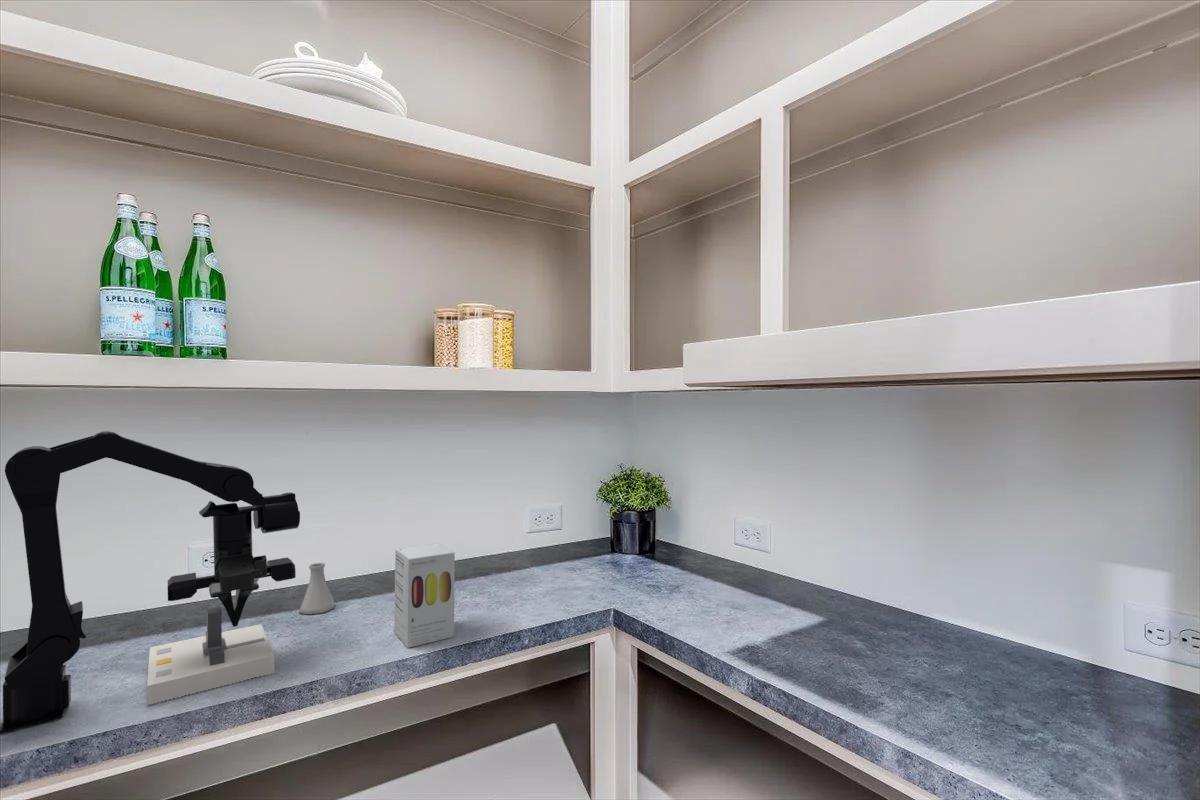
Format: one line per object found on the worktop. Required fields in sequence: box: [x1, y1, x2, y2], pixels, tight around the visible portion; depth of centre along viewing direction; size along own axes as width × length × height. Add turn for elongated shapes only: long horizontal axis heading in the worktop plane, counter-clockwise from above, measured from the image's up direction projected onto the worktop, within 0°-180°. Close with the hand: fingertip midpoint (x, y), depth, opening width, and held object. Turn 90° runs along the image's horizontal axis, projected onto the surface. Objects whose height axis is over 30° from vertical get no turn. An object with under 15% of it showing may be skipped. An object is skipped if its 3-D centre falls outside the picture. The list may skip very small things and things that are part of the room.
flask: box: [298, 562, 336, 615], centre depth 126 cm, size 7×7×10 cm
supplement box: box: [393, 542, 456, 649], centre depth 113 cm, size 10×9×17 cm
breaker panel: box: [146, 623, 275, 706], centre depth 98 cm, size 17×17×4 cm
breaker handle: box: [202, 606, 226, 655], centre depth 99 cm, size 3×4×7 cm
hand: (234, 625), depth 101 cm, fingers closed
